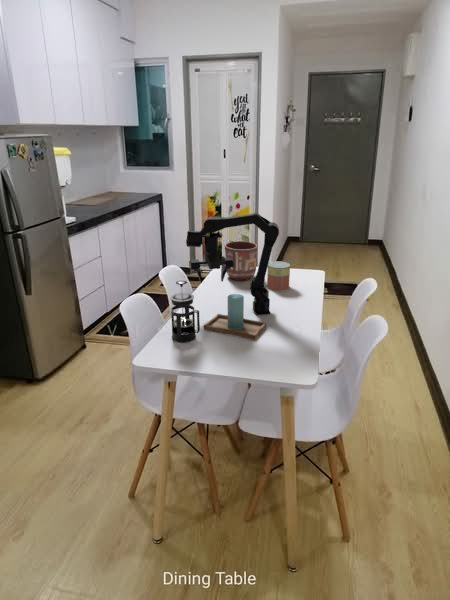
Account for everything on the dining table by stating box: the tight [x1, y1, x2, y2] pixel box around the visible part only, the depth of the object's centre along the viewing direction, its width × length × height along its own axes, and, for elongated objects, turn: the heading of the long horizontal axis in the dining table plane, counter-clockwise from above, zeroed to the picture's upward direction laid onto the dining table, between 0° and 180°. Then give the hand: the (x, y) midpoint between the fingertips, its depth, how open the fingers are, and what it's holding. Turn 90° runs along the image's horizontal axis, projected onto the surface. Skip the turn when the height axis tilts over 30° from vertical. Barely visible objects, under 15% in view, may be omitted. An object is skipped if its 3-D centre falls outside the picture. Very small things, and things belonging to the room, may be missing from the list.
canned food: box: [266, 260, 291, 292], centre depth 219 cm, size 11×11×12 cm
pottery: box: [224, 240, 258, 282], centre depth 233 cm, size 18×18×18 cm
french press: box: [169, 280, 201, 344], centre depth 165 cm, size 12×9×23 cm
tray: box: [203, 313, 268, 341], centre depth 176 cm, size 13×22×2 cm, turn 64°
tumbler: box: [227, 293, 245, 330], centre depth 174 cm, size 7×7×13 cm
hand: (211, 282), depth 189 cm, fingers open, 9 cm apart
